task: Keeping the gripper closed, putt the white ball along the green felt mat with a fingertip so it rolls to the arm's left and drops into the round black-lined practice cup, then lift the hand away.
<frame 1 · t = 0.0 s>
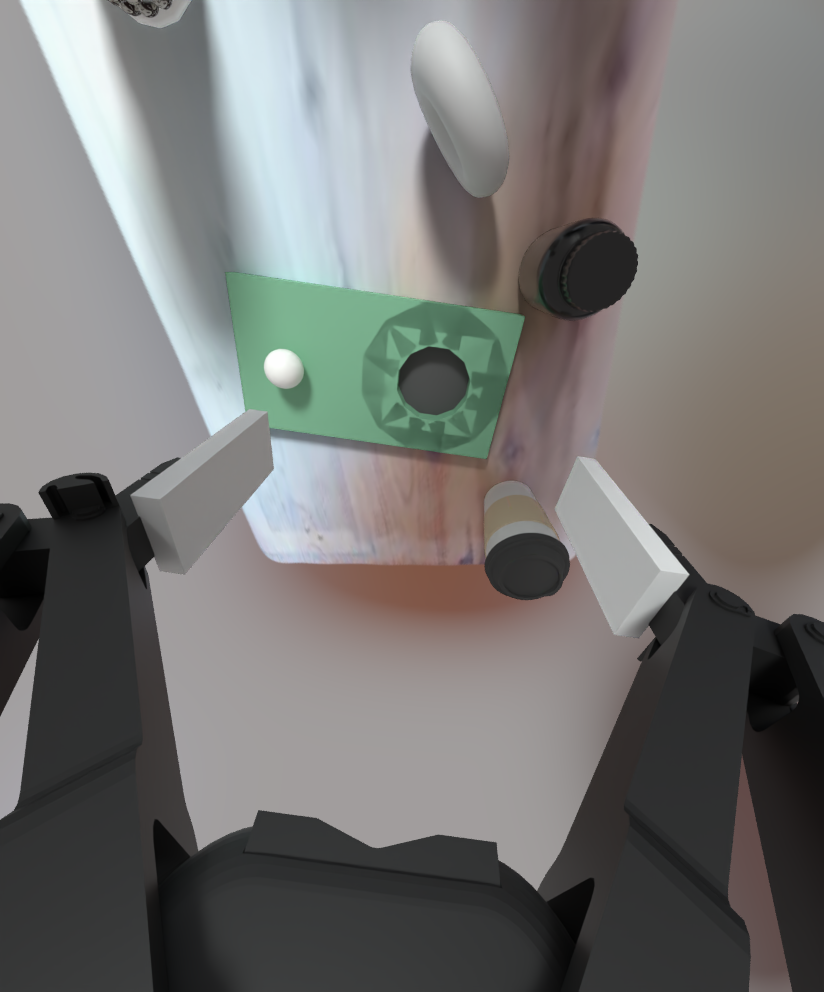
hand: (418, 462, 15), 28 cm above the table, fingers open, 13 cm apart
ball: (284, 369, 37), point 4 cm above the table, touching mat
coffee cup: (507, 500, 49), on the table
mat: (373, 372, 40), on the table
supplement bottle: (552, 271, 34), on the table
donut: (458, 142, 30), on the table
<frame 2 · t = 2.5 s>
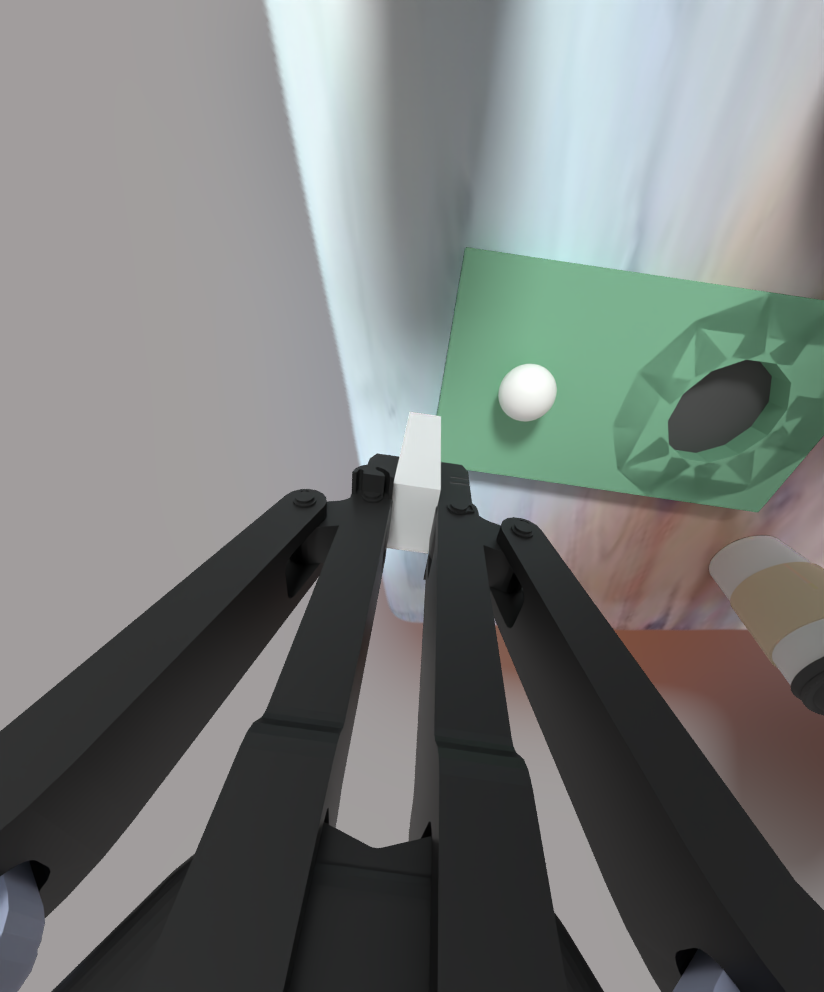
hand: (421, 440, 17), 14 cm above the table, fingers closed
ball: (526, 393, 25), point 4 cm above the table, touching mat
coffee cup: (744, 558, 37), on the table
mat: (625, 394, 28), on the table
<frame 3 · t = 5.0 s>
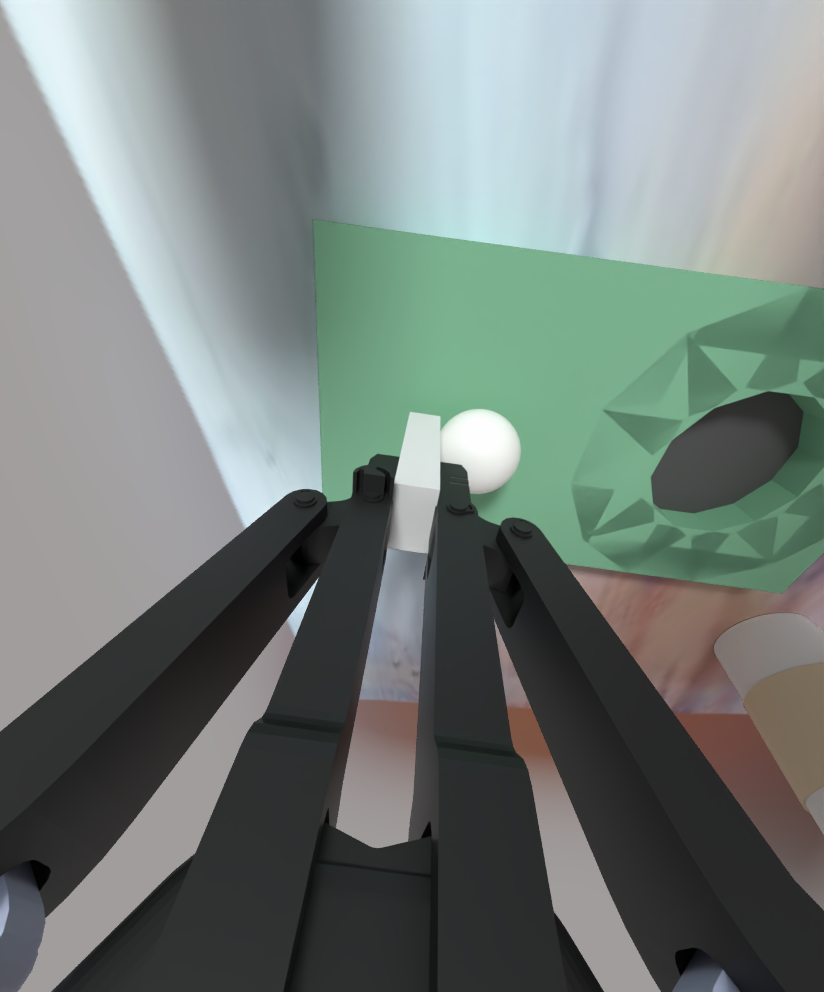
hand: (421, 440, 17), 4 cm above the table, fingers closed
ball: (476, 452, 17), point 4 cm above the table, tilted 54°, touching gripper, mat
coffee cup: (760, 638, 28), on the table
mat: (590, 436, 20), on the table
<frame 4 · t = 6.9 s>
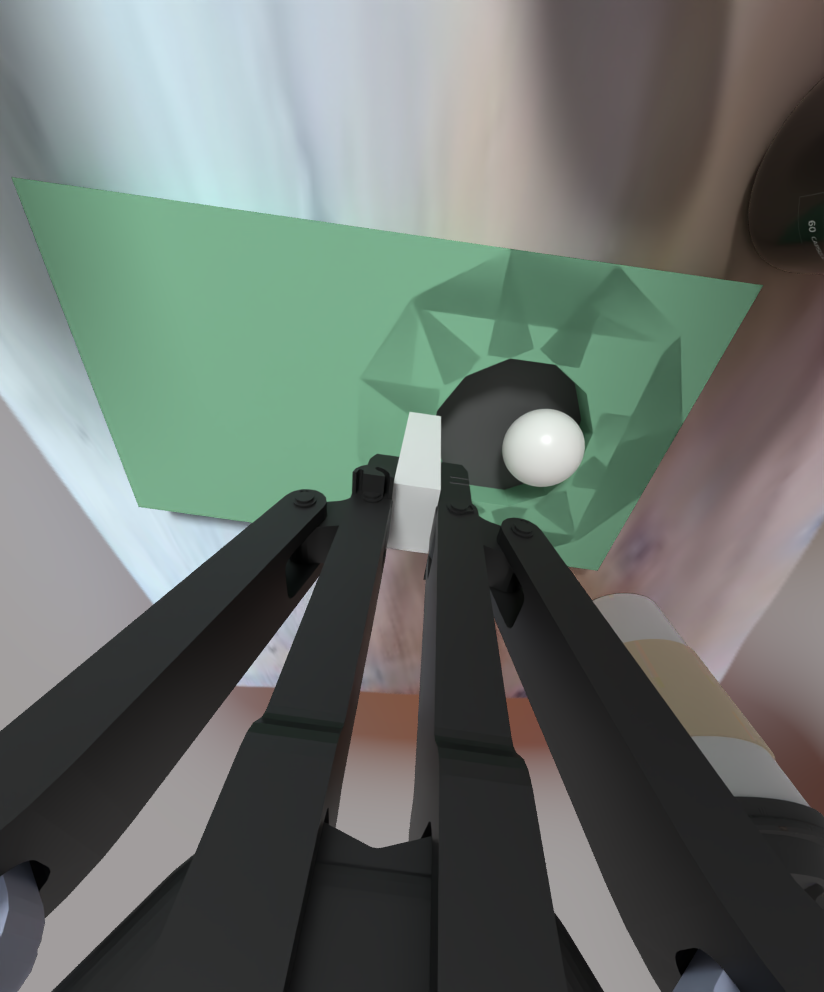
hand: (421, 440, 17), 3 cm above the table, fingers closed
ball: (541, 448, 18), point 2 cm above the table, tilted 131°, touching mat
coffee cup: (612, 620, 28), on the table
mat: (382, 409, 20), on the table
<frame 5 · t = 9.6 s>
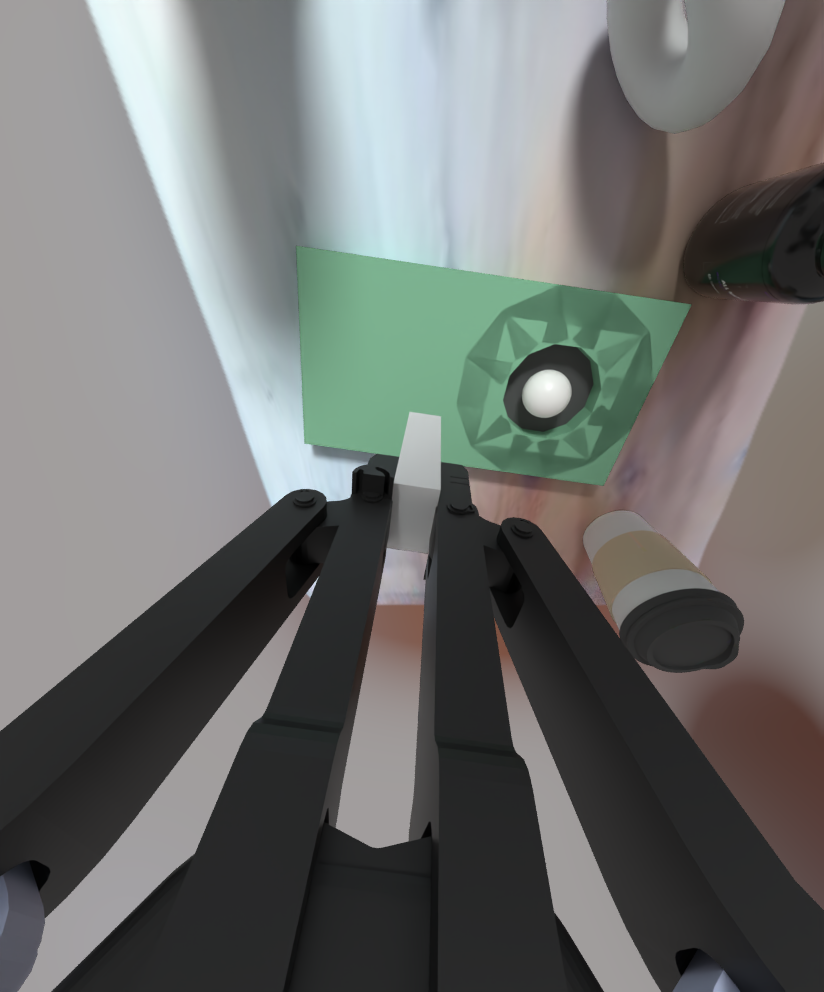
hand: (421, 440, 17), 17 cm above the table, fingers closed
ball: (546, 394, 30), point 2 cm above the table, tilted 67°, touching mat
coffee cup: (613, 533, 40), on the table
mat: (470, 377, 32), on the table
supplement bottle: (729, 246, 26), on the table
donut: (633, 63, 22), on the table
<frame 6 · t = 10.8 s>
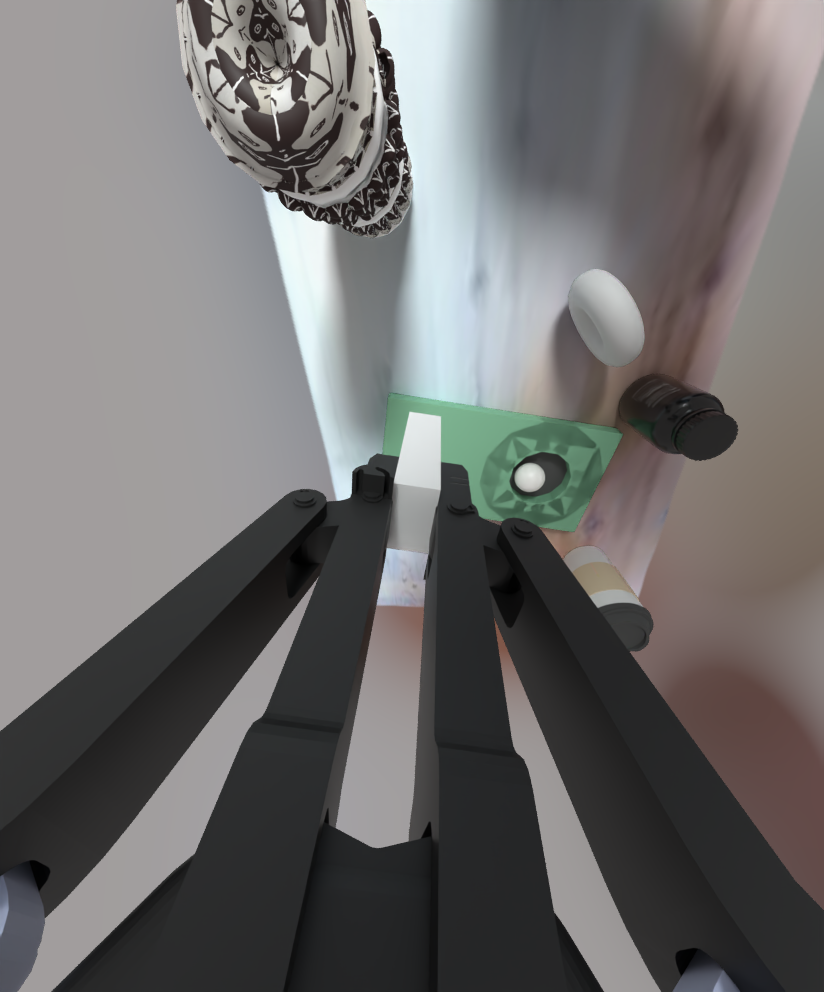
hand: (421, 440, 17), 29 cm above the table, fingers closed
decorative candle: (370, 185, 34), on the table
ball: (529, 477, 48), point 2 cm above the table, tilted 39°, touching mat
coffee cup: (582, 560, 58), on the table
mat: (488, 464, 50), on the table
supplement bottle: (645, 400, 44), on the table
donut: (585, 315, 39), on the table
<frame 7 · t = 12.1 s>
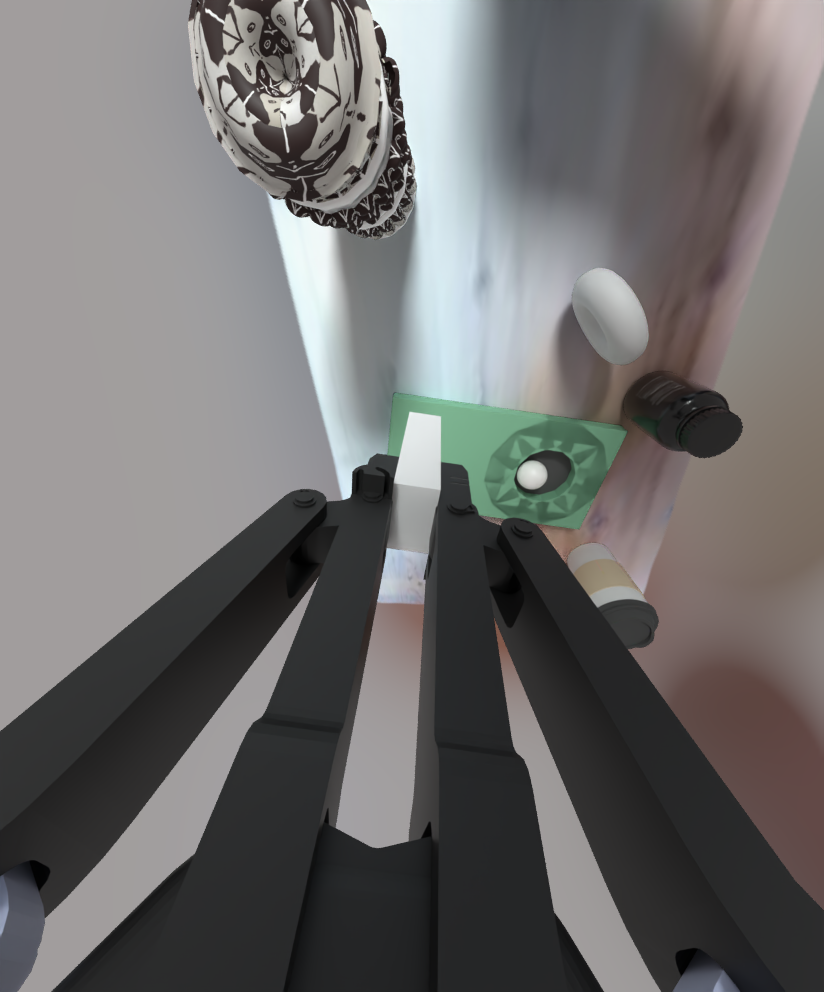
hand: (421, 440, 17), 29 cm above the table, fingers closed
decorative candle: (374, 186, 35), on the table
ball: (531, 475, 48), point 2 cm above the table, tilted 30°, touching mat
coffee cup: (587, 557, 58), on the table
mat: (492, 462, 50), on the table
supplement bottle: (650, 397, 44), on the table
donut: (589, 313, 39), on the table
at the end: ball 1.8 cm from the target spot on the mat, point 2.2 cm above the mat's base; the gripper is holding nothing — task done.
